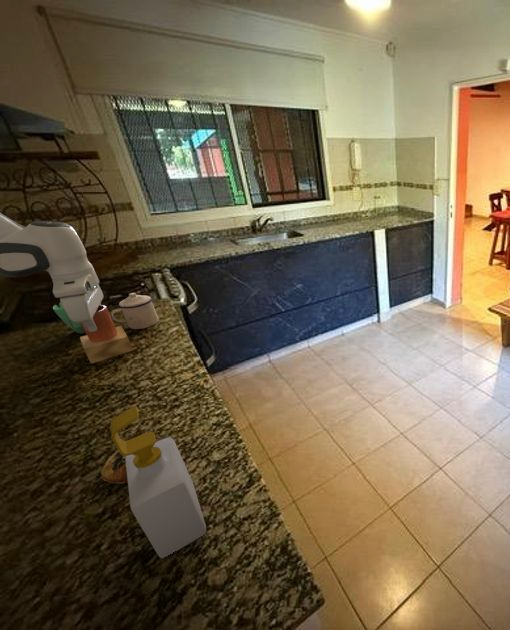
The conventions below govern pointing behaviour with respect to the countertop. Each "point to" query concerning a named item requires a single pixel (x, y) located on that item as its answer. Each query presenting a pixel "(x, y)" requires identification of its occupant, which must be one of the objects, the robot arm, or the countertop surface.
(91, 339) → the cup
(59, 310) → the mug
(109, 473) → the bread roll
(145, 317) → the teacup with lid
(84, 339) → the block
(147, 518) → the soap bottle
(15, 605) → the countertop surface
